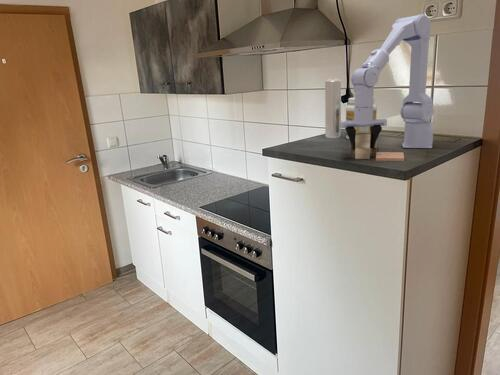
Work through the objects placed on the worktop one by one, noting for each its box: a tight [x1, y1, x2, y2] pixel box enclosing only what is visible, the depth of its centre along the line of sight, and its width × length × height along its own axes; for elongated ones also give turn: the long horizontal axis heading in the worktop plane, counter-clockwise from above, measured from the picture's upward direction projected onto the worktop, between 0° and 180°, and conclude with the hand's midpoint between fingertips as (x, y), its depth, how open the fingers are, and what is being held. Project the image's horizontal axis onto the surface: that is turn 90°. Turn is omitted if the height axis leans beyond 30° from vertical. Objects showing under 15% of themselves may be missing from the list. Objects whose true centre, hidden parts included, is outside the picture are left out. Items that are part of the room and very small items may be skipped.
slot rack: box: [350, 140, 379, 156], centre depth 138 cm, size 8×14×2 cm, turn 161°
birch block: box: [354, 133, 371, 160], centre depth 127 cm, size 4×4×8 cm
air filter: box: [324, 78, 342, 139], centre depth 166 cm, size 6×6×25 cm
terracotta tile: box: [375, 151, 405, 162], centre depth 125 cm, size 8×9×1 cm
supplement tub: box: [345, 96, 378, 141], centre depth 160 cm, size 12×12×17 cm
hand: (362, 148), depth 127 cm, fingers closed on birch block, 6 cm apart
